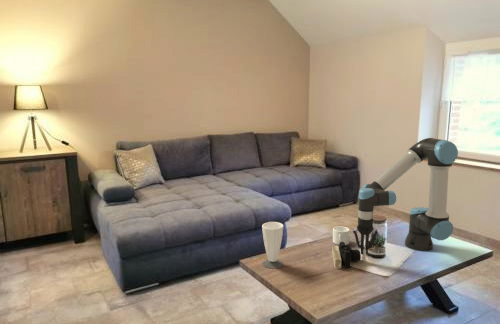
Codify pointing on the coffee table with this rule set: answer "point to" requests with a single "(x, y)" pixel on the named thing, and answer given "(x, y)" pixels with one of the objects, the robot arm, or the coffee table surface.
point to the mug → (341, 235)
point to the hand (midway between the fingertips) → (363, 259)
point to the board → (336, 257)
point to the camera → (348, 255)
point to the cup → (272, 243)
